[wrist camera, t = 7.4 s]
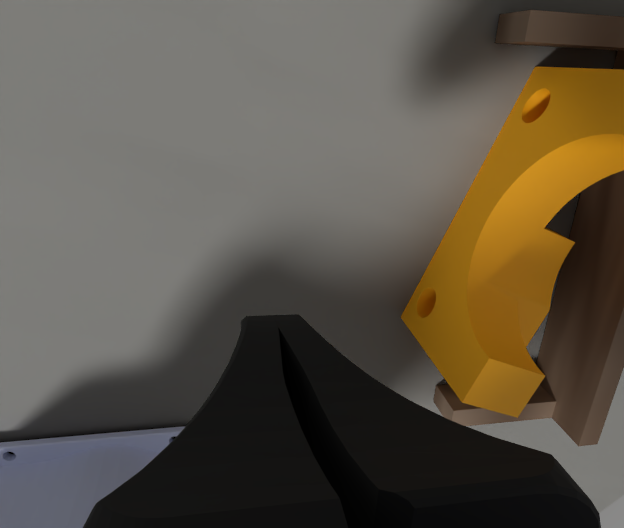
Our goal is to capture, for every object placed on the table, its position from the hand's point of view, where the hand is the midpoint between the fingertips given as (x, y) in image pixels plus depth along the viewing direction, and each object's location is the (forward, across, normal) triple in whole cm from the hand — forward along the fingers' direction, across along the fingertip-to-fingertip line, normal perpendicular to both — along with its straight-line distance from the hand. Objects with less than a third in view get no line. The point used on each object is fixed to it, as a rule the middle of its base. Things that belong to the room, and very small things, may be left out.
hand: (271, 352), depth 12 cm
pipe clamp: (+10, -11, 0) cm, 15 cm away
